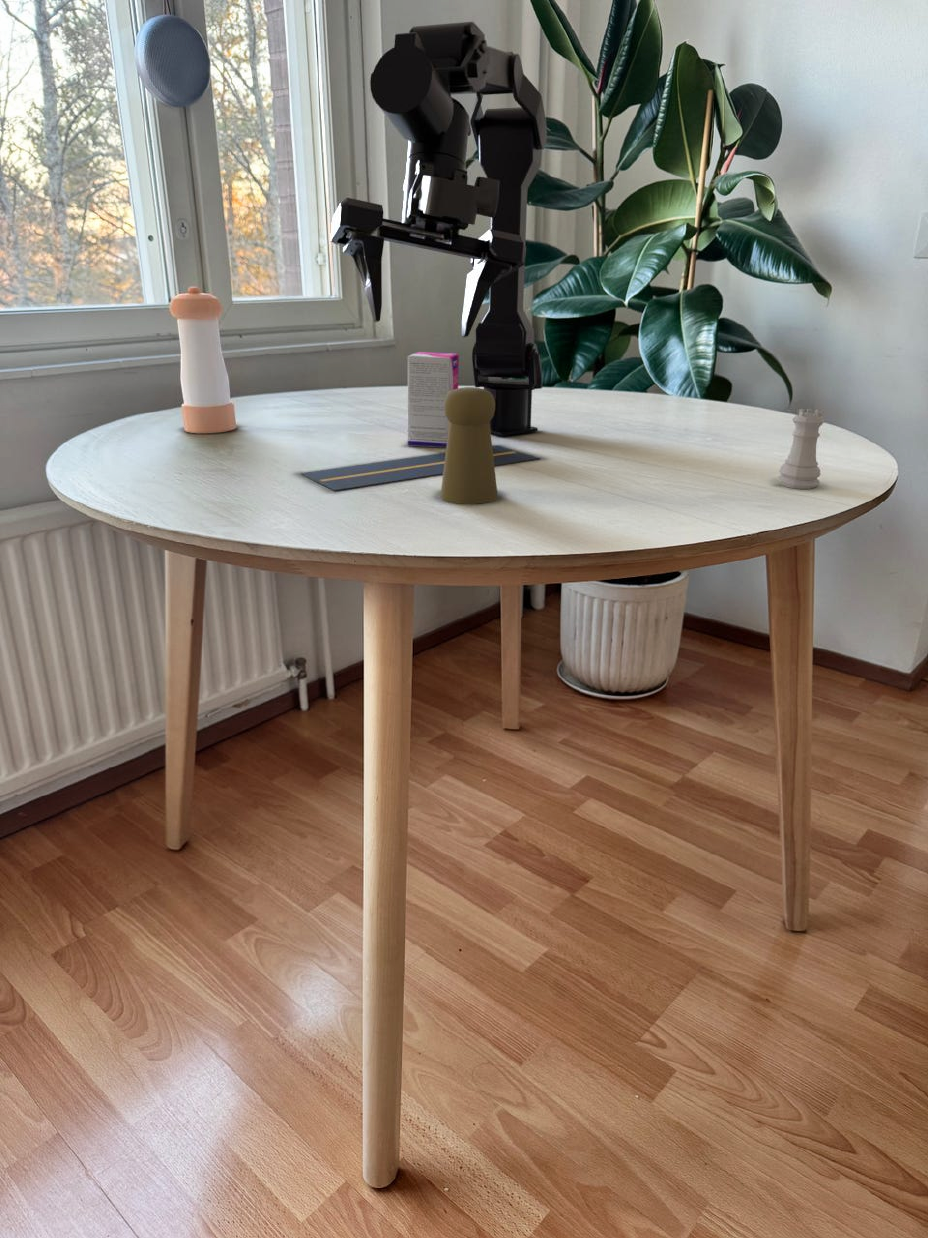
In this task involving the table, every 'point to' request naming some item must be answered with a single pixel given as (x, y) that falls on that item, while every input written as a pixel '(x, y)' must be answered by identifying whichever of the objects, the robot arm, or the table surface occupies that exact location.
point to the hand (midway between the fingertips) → (421, 329)
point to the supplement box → (430, 396)
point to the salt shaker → (202, 364)
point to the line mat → (400, 469)
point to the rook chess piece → (803, 452)
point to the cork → (469, 447)
